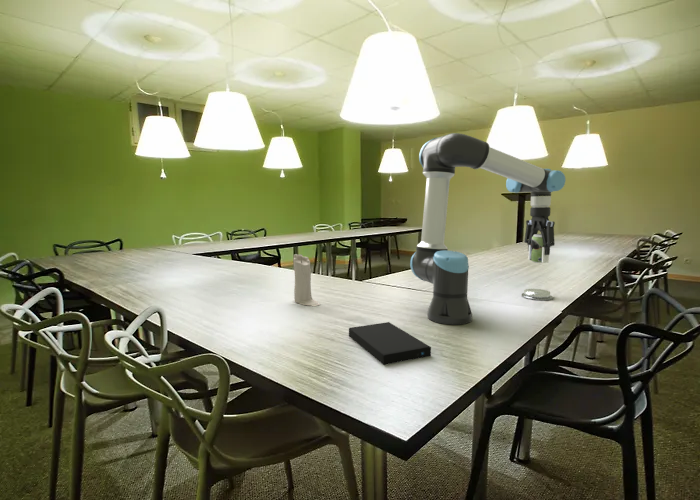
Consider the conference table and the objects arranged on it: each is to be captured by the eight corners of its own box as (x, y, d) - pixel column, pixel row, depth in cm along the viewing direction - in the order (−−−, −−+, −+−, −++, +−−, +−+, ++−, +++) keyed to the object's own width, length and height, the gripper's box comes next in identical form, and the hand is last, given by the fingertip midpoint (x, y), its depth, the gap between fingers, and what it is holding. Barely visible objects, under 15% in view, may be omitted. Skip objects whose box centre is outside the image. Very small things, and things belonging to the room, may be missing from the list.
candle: (310, 307, 150) (309, 257, 148) (291, 300, 161) (289, 254, 158) (324, 304, 155) (324, 255, 153) (305, 298, 165) (304, 252, 163)
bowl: (535, 301, 156) (535, 295, 156) (515, 294, 168) (515, 289, 167) (559, 299, 159) (559, 293, 159) (538, 292, 171) (538, 287, 171)
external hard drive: (389, 330, 123) (389, 322, 123) (430, 357, 102) (431, 346, 102) (348, 337, 118) (348, 327, 118) (383, 366, 97) (383, 355, 96)
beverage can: (542, 261, 165) (543, 233, 163) (549, 263, 158) (550, 234, 156) (527, 261, 165) (528, 233, 164) (533, 263, 158) (534, 235, 157)
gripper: (567, 206, 150) (564, 264, 153) (530, 206, 169) (528, 257, 172) (551, 207, 148) (548, 265, 151) (516, 206, 167) (514, 258, 170)
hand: (538, 261), depth 161 cm, fingers closed on beverage can, 7 cm apart
